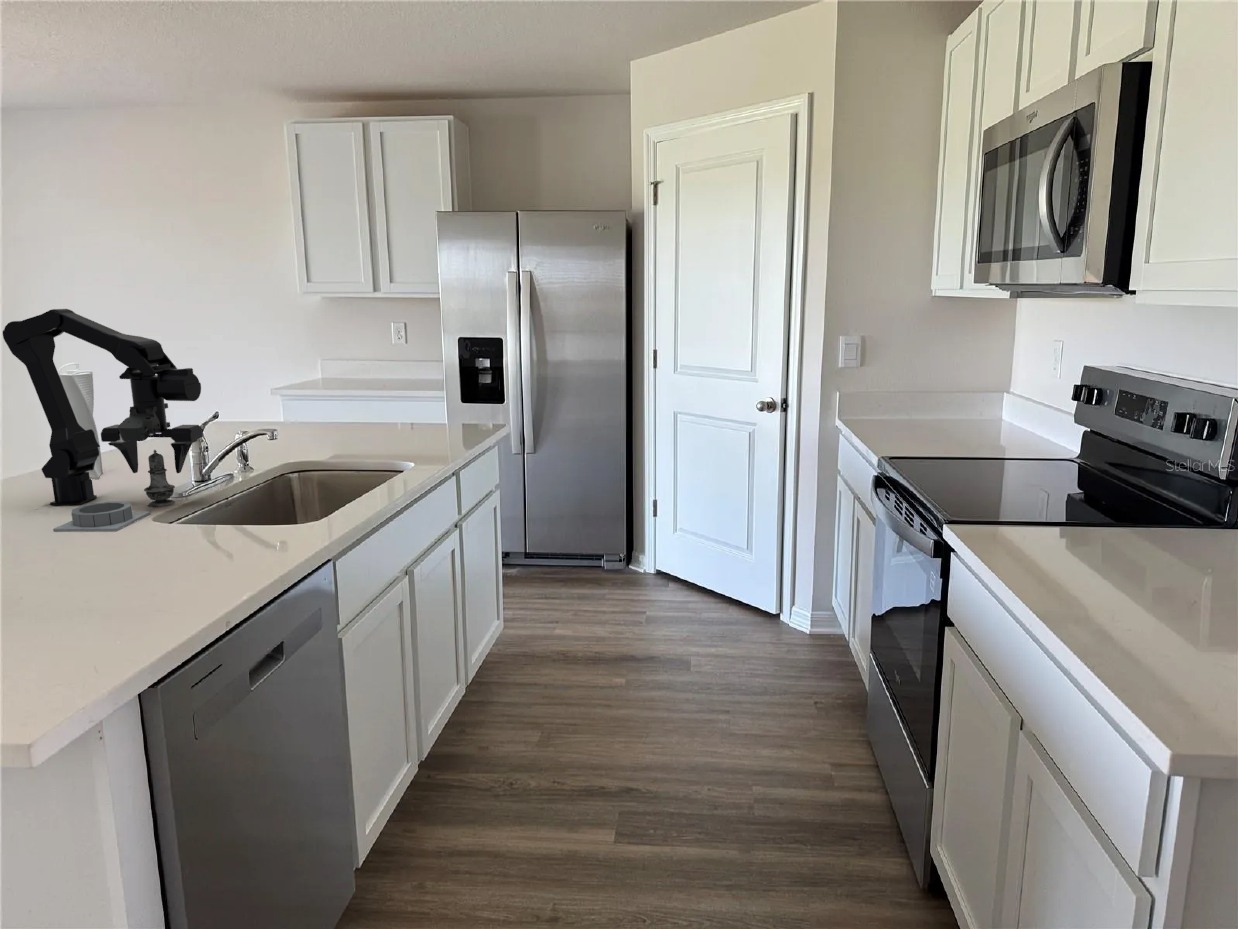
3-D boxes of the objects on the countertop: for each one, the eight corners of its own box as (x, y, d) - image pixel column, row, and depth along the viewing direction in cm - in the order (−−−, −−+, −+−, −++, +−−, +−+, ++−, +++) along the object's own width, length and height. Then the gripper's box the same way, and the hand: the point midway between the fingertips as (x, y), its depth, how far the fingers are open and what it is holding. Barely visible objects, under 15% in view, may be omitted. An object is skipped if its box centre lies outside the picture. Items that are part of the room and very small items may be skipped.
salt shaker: (182, 500, 181) (176, 447, 178) (165, 508, 175) (158, 452, 172) (157, 500, 181) (150, 446, 179) (139, 507, 175) (132, 452, 173)
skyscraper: (70, 475, 205) (54, 362, 199) (108, 472, 209) (93, 361, 203) (64, 483, 198) (47, 365, 192) (104, 479, 201) (88, 364, 195)
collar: (53, 531, 158) (51, 516, 158) (92, 514, 170) (90, 500, 169) (116, 531, 158) (114, 516, 158) (150, 514, 170) (148, 500, 170)
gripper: (79, 405, 165) (89, 481, 169) (173, 406, 165) (181, 481, 169) (112, 398, 176) (121, 469, 179) (200, 398, 176) (207, 469, 180)
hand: (157, 472), depth 177 cm, fingers open, 9 cm apart
